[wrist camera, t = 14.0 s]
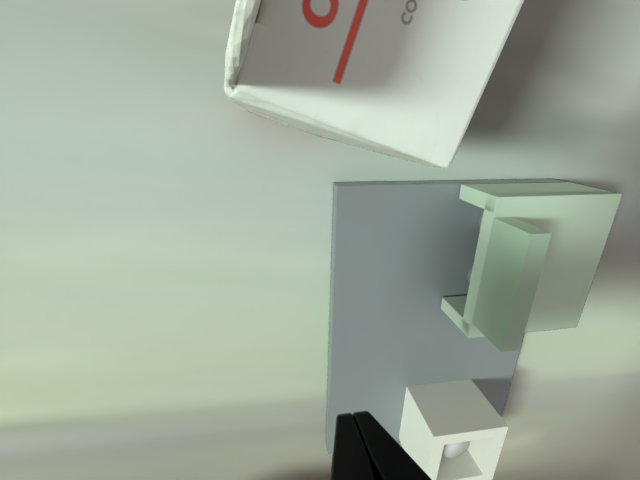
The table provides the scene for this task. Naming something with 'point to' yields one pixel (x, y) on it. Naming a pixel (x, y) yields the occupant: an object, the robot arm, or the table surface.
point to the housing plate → (404, 299)
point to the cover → (531, 258)
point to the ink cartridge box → (369, 68)
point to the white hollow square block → (451, 430)
